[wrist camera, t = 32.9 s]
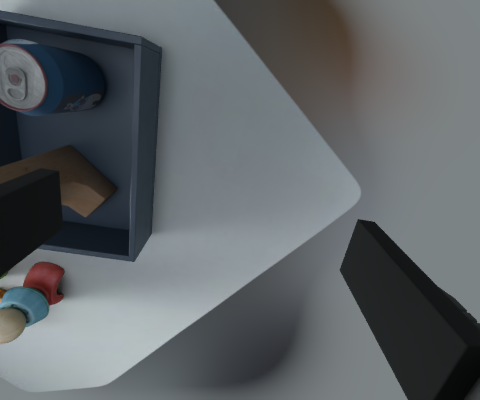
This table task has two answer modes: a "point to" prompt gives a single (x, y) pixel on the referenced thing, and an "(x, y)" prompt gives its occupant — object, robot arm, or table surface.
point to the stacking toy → (29, 300)
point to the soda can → (47, 79)
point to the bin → (96, 134)
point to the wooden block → (67, 178)
